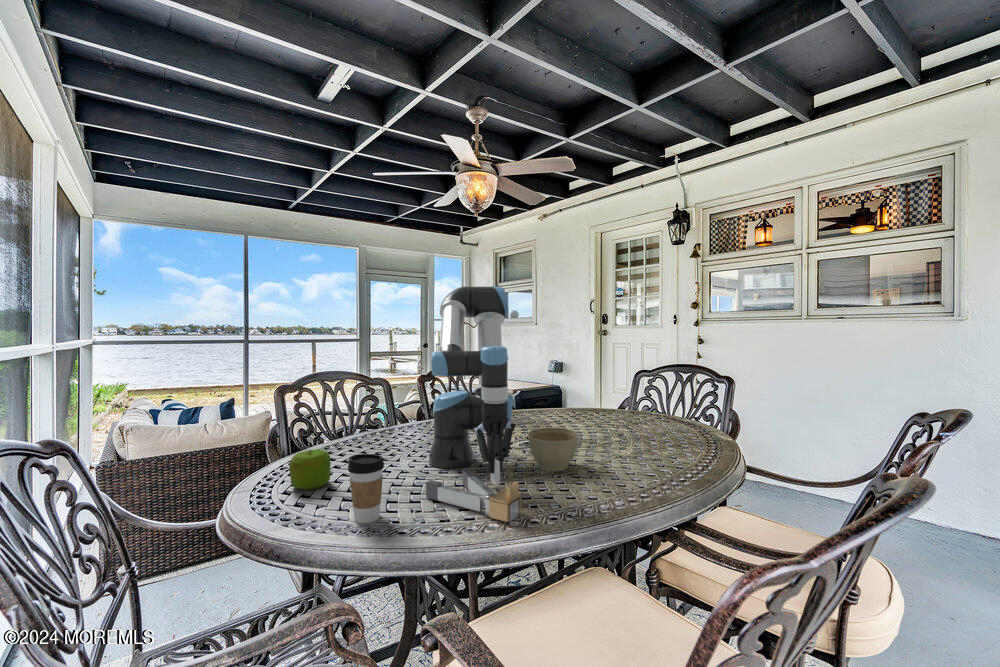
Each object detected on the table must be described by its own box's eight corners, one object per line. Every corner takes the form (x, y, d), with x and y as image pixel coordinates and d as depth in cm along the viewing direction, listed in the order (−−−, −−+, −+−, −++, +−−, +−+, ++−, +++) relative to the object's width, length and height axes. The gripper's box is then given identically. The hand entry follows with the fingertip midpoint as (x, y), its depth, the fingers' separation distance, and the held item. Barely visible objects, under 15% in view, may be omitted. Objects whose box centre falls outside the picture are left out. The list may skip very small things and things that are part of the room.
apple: (322, 476, 136) (321, 441, 136) (337, 485, 128) (337, 448, 128) (284, 486, 128) (283, 449, 128) (298, 497, 121) (297, 457, 120)
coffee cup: (353, 511, 111) (352, 452, 111) (387, 509, 112) (386, 451, 112) (344, 526, 103) (343, 463, 103) (381, 525, 104) (380, 462, 103)
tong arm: (494, 506, 113) (494, 489, 113) (488, 507, 112) (488, 491, 112) (468, 483, 128) (468, 469, 128) (462, 484, 128) (462, 470, 127)
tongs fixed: (518, 514, 109) (518, 496, 109) (510, 521, 105) (509, 502, 105) (436, 493, 122) (436, 477, 122) (426, 498, 119) (425, 482, 118)
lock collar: (521, 511, 110) (520, 480, 109) (507, 522, 104) (507, 489, 104) (503, 506, 112) (503, 476, 112) (489, 517, 107) (489, 485, 106)
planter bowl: (521, 472, 139) (521, 437, 138) (536, 457, 153) (536, 425, 153) (572, 478, 132) (572, 443, 132) (583, 462, 147) (583, 430, 147)
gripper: (506, 396, 131) (507, 475, 132) (467, 401, 124) (468, 484, 125) (521, 400, 125) (521, 482, 126) (481, 405, 118) (481, 492, 119)
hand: (495, 483), depth 126 cm, fingers closed
